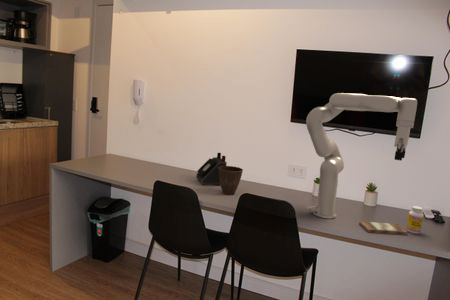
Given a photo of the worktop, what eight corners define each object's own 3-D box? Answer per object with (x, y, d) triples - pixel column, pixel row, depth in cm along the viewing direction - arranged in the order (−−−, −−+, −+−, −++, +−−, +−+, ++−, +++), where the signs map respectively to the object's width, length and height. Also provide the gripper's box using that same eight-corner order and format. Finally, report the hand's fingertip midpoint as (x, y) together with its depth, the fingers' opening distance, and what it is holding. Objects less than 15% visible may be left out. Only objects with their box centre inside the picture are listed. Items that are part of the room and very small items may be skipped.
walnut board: (367, 232, 180) (368, 229, 180) (359, 224, 191) (359, 221, 190) (407, 235, 181) (407, 231, 180) (396, 226, 192) (397, 223, 191)
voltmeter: (195, 179, 255) (197, 151, 252) (218, 179, 260) (220, 152, 257) (201, 186, 240) (203, 156, 237) (224, 186, 245) (227, 156, 242)
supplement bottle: (408, 233, 184) (412, 208, 182) (404, 228, 190) (408, 204, 188) (422, 234, 183) (426, 210, 181) (417, 229, 189) (422, 206, 187)
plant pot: (241, 191, 234) (243, 167, 232) (239, 198, 220) (242, 172, 217) (218, 189, 236) (220, 165, 233) (215, 195, 221) (217, 169, 218)
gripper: (399, 122, 185) (393, 155, 187) (393, 123, 170) (388, 159, 173) (415, 124, 181) (409, 158, 183) (411, 125, 166) (405, 162, 169)
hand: (399, 158), depth 178 cm, fingers open, 9 cm apart
